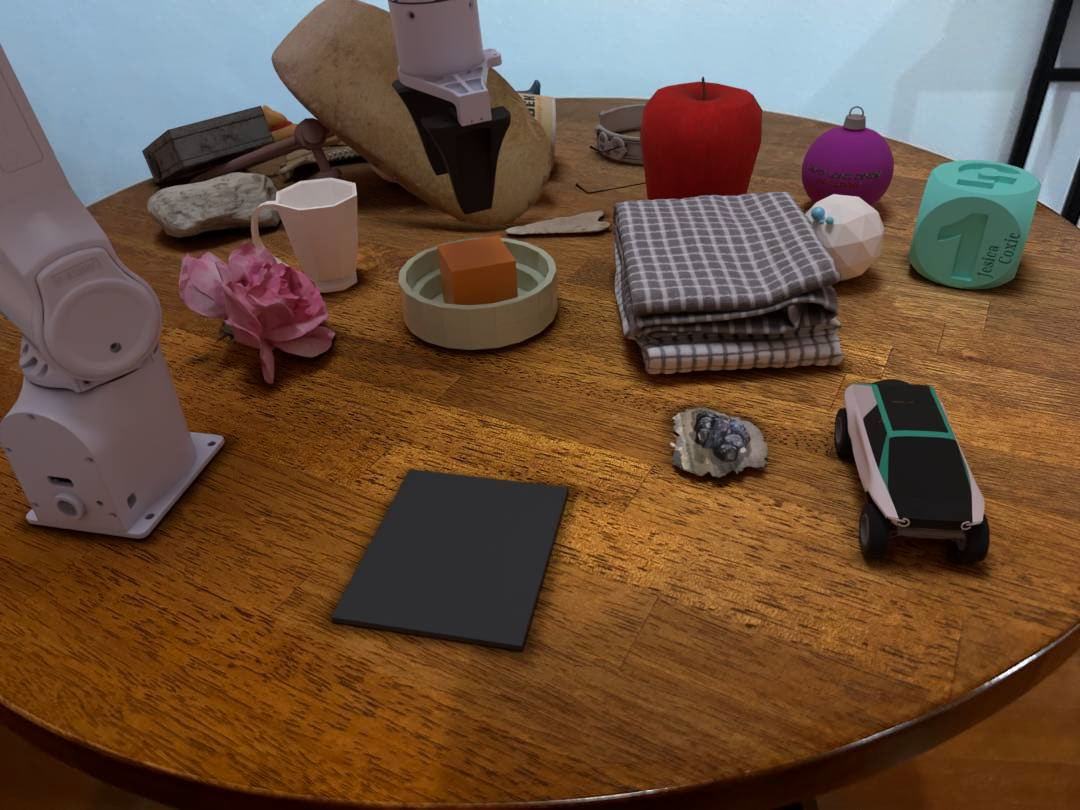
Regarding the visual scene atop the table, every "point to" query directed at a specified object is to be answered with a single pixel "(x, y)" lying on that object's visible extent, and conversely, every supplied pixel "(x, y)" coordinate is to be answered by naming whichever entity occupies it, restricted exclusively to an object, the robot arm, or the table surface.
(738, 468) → the blueberries
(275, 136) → the toy
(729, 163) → the apple
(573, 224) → the stone tool
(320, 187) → the cup
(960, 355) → the table surface
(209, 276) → the flower
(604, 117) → the bracelet
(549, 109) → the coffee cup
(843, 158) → the christmas ornament
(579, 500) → the table surface
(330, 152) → the jawbone
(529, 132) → the stone
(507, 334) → the bowl
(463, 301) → the block
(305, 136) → the toilet paper hanger
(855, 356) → the table surface
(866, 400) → the toy car
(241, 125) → the grey rectangular box
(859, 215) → the ornament
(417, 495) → the mat
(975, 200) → the decorative dice
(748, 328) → the towel
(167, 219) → the decorative stone
